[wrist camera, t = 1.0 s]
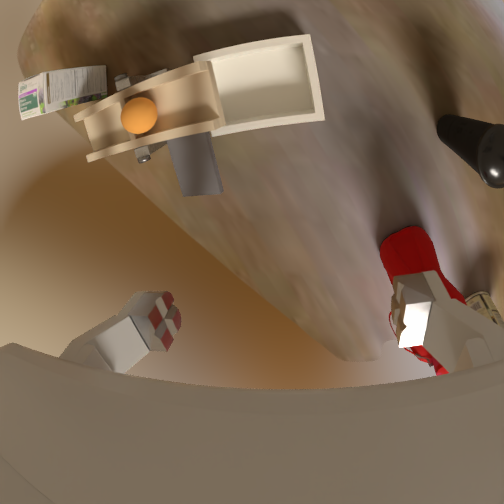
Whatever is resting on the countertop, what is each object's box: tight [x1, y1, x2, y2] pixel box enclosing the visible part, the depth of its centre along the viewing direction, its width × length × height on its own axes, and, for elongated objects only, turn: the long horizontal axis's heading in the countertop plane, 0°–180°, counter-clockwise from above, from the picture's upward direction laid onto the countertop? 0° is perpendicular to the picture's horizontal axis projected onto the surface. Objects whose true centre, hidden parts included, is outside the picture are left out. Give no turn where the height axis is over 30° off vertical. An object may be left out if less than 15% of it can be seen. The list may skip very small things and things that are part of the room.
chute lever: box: [74, 61, 226, 197], centre depth 32 cm, size 20×14×8 cm
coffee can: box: [465, 291, 504, 328], centre depth 44 cm, size 10×10×14 cm
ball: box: [120, 97, 158, 134], centre depth 26 cm, size 4×4×4 cm
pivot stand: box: [114, 68, 169, 163], centre depth 33 cm, size 12×5×10 cm, turn 11°
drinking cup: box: [437, 115, 504, 188], centre depth 24 cm, size 8×8×20 cm
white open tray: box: [193, 34, 325, 137], centre depth 32 cm, size 11×14×5 cm
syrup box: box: [18, 65, 107, 120], centre depth 29 cm, size 6×6×14 cm
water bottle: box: [380, 226, 467, 376], centre depth 35 cm, size 9×11×25 cm
